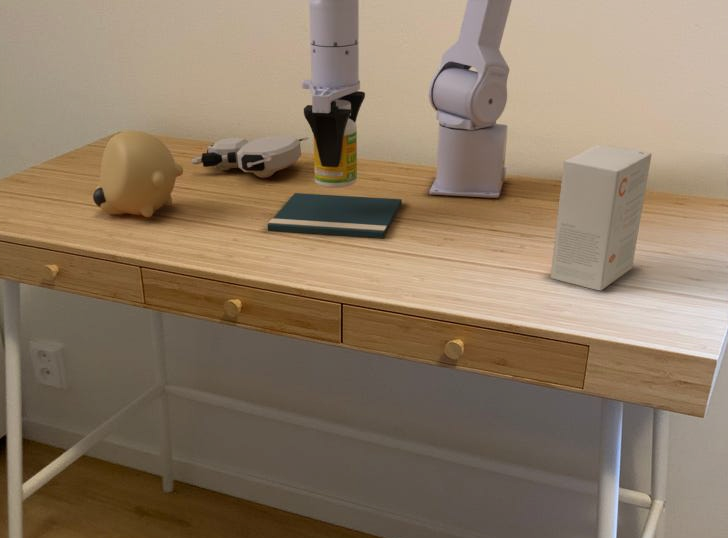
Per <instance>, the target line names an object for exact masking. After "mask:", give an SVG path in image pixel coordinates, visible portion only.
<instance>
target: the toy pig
mask: <svg viewBox="0 0 728 538" xmlns="http://www.w3.org/2000/svg"><path fill="white" fill-rule="evenodd" d="M183 173H184V168H183V166H182V165H181V164H180V163H177V162H176V161H175V159H174V156H173V154H172V152H171V151H170V149H169V148H168V146H166V144H165V143H164V142H162V140H161V139H159V138H157V137H156V136H154V135H152V134H150V133H148V132H145V131H140V130H125V131H121V132H119V133H116V134H115V135H113V136H112V137H111V138H110V139H109V141H108V142H107V143H106V146H105V148H104V151H103V154H102V159H101V165H100V177H99V182H98V185H97V186H96V187H94V192H93V195H92V200H93V202H94V204H95V205H96V206H97V207H98V208H100V210H101V211H102V212H103V213H106V214H108V215H114V216H115V215H126V214H130V215H136V216H143V217H145V218H151V217H152V216H153V215H154V212H156V211H158V210H159V209H160V208H161V207H163V206H165V207H169V206H171V205H172V203H173V198H172V192H173V190H174V188H175V184H176V178H177V177H180V176H182V175H183Z"/></svg>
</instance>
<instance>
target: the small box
mask: <svg viewBox="0 0 728 538" xmlns="http://www.w3.org/2000/svg"><path fill="white" fill-rule="evenodd" d="M652 155H653V154H652V152H648V151H643V150H638V149H633V148H627V147H623V146H622V147H620V146H614V145H607V144H600V143H599V144H596V145H594V146H592V147H590V148H588V149H586V150H584V151H582V152H580V153H578V154H576V155H574V156H571V157H570V158H568V159H566V160H564V161H563V165H562V175H561V184H560V192H559V202H558V209H557V210H558V211H557V218H556V227H555V235H554V244H553V252H552V259H551V261H552V262H551V270H550V278H551V279H553V280H557V281H561V282H564V283H568V284H572V285H575V286H580V287H583V288H588V289H590V290H591V289H592V290H595V291H603V290H604V289H605V288H607V287H608V286H609V285H611V284H612V283H613V282H615V281H617V280H618V279H619V278H621V277H623V275H625V274H626V273H628V272H629V271H630V270H631V269H633V267H634V266H633V265H634V259H635V254H636V247H637V241H638V235H639V229H640V225H641V224H640V223H641V219H642V213H643V208H644V201H645V195H646V190H647V184H648V178H649V171H650V167H651V160H652Z"/></svg>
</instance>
